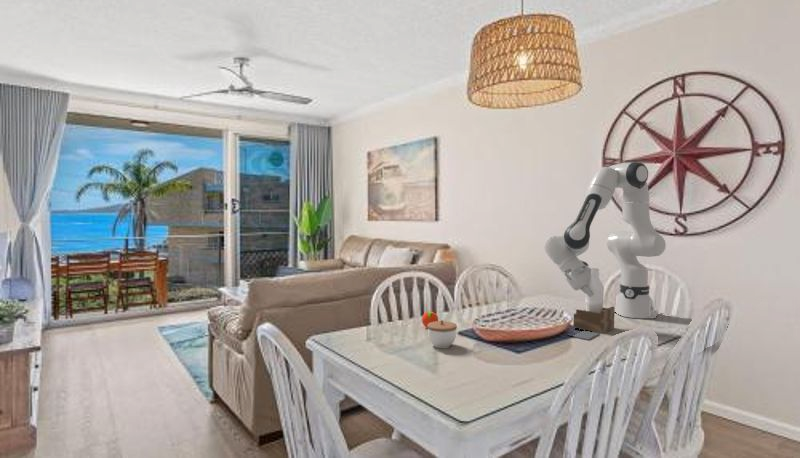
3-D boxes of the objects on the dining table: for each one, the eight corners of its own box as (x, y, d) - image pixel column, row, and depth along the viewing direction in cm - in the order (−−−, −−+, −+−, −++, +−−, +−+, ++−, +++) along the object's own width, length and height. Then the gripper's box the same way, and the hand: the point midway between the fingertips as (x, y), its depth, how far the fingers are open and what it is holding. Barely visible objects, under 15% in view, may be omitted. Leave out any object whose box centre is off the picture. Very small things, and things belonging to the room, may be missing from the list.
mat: (572, 329, 187) (572, 328, 187) (599, 334, 179) (599, 333, 179) (560, 334, 179) (560, 333, 179) (588, 340, 172) (588, 339, 172)
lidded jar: (455, 351, 159) (455, 324, 159) (425, 349, 161) (425, 323, 161) (457, 342, 170) (457, 317, 169) (429, 340, 172) (429, 316, 172)
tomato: (437, 331, 185) (437, 314, 185) (420, 330, 186) (420, 313, 186) (438, 326, 193) (438, 309, 193) (422, 325, 194) (422, 309, 194)
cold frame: (585, 323, 197) (585, 302, 197) (614, 328, 189) (614, 306, 188) (573, 328, 189) (573, 307, 188) (602, 333, 180) (603, 311, 180)
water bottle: (606, 330, 185) (607, 270, 184) (588, 330, 185) (589, 270, 184) (598, 326, 192) (599, 267, 191) (581, 325, 193) (582, 267, 191)
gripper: (567, 266, 185) (591, 293, 179) (588, 262, 200) (610, 286, 193) (557, 276, 189) (579, 302, 182) (578, 271, 203) (599, 295, 197)
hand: (595, 294), depth 188 cm, fingers closed on water bottle, 7 cm apart
